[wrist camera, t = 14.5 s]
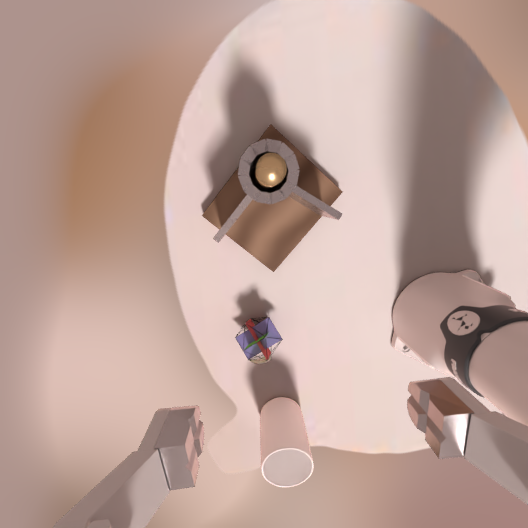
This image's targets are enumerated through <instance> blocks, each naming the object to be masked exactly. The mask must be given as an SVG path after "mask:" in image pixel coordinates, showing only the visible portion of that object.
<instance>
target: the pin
mask: <svg viewBox="0 0 528 528" xmlns="http://www.w3.org/2000/svg"><path fill="white" fill-rule="evenodd" d="M286 171H287V167H286V163H285V161H284V159H283V158H282V157H281V156H280V155H278V154H276V153H266V154H264V155H263V156H261V157H260V159H259V160H258V162H257V165H256V173H255V183H256V185H257V186H258V187H259V188H260V189H262V190H269V189H271V188H272V187H274V186H275V185H277V184H279V183H280V182H281V181H282V180H283V179H284V177H285V175H286Z"/></svg>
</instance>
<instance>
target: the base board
mask: <svg viewBox="0 0 528 528" xmlns="http://www.w3.org/2000/svg"><path fill="white" fill-rule="evenodd" d="M263 139H265V140H266V139H272V140H277V141H281V144H282V143H284V144H285V145H287V146H288V147H289V148H290V149H291V150H292V151H293V152H294V153H293V154H295V156H296V159H297V162H298V165H299V169H298V170H300V171H299V176H298V181H297V185H296V186H298V187H299V188H301V189H303V190H304V191H306V192H308V193H309V194H311V195H312V196H314V197H316V198H317V199H319V200H321V201H322V202H324V203H326V204H327V205H329V206H331V205H332V204H333V202H334V201H335V200H336V199H337V198H338V197H339V195H340V194H341V193H342V191H341V190H340V189H339V188H338V187H337V186H336V185H335V184H334V183H333V182H332V181H331V180H330V179H328V178H327V177H326V176H325V175H324V174H323V173H322V172H321V171H320V170H319V169H318V168H317V167H316V166H315V165H314V164H312V163H311V162H310V161H309V160H308V159H307V158H306V157H305V156H304V155H303V154H302V153H301V152H300V151H299V150H298V149H296V148H295V147H294V146H293V145H292V144H291V143H290V142H289V141H288V140H287V139H286V138H285V137H284V136H283V135H282V134H280V133H279V132H278V131H277V130H276V129H275V128H274V127H273V126H272V125H271V124H270V126H269V127H268V128H267V130H266V131H265V132H264V134H263V135H262V136H261V138H260V139H259V140H258V141H260V140H263ZM238 169H239V167H238V168H237V170H236V171H235V172H234V174H233V175H232V176H231V178H230V179H229V180H228V182H227V183H226V184H225V186H224V187H223V188H222V190H221V191H220V192H219V194H218V195H217V196H216V198H215V199H214V200H213V202H212V203H211V204H210V206H209V207H208V208H207V210H206V211H205V212H204V214H203V215H202V216H203V217H204V218H206V219H207V220H208V221H209V222H211V223H212V224H213V225H214V226H216V227H217V228H218V229H221V227H222V226H223V225H224V224H225V222H226V221H227V220H228V218H229V217H230V216H231V215H232V213H233V212H234V211H235V209H236V208H237V207H238V206H239V204H240V203H241V202H242V200H243V199H244V198H245V197H246V195H247V194H246V193H245V192H244V191H243V188H242V186H241V183H240V180H239V178H238ZM255 173H256V167H255V169H254V170H253V171H252V173H251V181H252V184H253V185H254V186H255V187H256V188H257V189H258V190H260V191H261V192H267V193H272V192H274V191H275V190H276V189H277V187H278V186H279V184H277V185H275V186H274V187H272V188H271V189H269V190H262V189H260V188H259V187H258V186H257V185H256V183H255ZM320 218H321V216H320V215H318V214H317V213H315V212H313V211H312V210H310V209H308V208H307V207H305V206H303V205H302V204H300V203H298V202H297V201H295V200H293V199H292V198H290V197H287V198H285V200H282V201H279V202H277V203H274V204H265V203H260V202H256V201H254V200H252V201H251V203H250V204H249V205H248V206H247V208H246V209H245V210H244V211H243V213H242V214H241V215H240V217H239V218H238V219H237V220H236V222H235V223H234V224H233V225H232V227H231V228H230V229H229V230H228V232H227V233H226V235H227V236H228V237H230V238H231V239H232V240H234V241H235V242H236V243H237V244H239V245H240V246H241V247H242V248H244V249H245V250H246V251H247V252H249V253H250V254H251V255H253V256H254V257H255V258H256V259H258V260H259V261H260V262H261V263H263V264H264V265H265V266H267V267H268V268H269V269H270V270H272V271H273V272H274V271H275V270H276V269H277V267H278V266H279V265H280V264H281V263H282V262H283V260H284V259H285V258H286V257H287V256H288V255H289V254H290V252H291V251H292V250H293V249H294V248H295V247H296V245H297V244H298V243H299V242H300V241H301V240H302V238H303V237H304V236H305V235H306V234H307V233H308V231H309V230H310V229H311V228H312V227H313V226H314V225H315V223H316V222H317V221H318V220H319V219H320Z"/></svg>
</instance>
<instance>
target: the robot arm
mask: <svg viewBox="0 0 528 528" xmlns="http://www.w3.org/2000/svg"><path fill="white" fill-rule="evenodd" d="M515 306H516V305H515V304H514V303H513V302H512V301H511V297H510V296H509V295H507V294H505V293H503V292H501V291H499V290H496V289H494V288H492V287H490V286H487V285H485V284H484V282H483V281H482V279H481V277H480V275H479V274H478V273H477V272H475V271H473V270H464V271H460V272H457V273H444V272H437V273H431V274H427V275H424V276H422V277H420V278H418V279H416V280H415V281H413V282H412V283H410V284H409V285H408V286H407V287H406V288H405V289H404V290H403V291H402V292H401V294H400V295H399V297H398V299H397V301H396V303H395V305H394V309H393V315H392V320H393V326H394V334H393V337H392V342H391V344H392V347H393V348H394V349H396V350H397V351H399V352H401V353H403V354H405V355H407V356H409V357H411V358H413V359H415V360H417V361H419V362H421V363H423V364H425V365H427V366H429V367H431V368H433V369H435V370H437V371H439V372H441V373H443V374H445V375H447V376H449V377H446V378H438V379H430V380H422V381H413V382H410V383H409V386H408V391H409V392H410V394H411V396H410V397H409V399H408V400H407V408H408V412H409V416H410V418H411V420H412V422H413V423H414V425H415V426H416V427H417V429H419V430H421V431H422V432H424V433H425V440H426V442H427V443H428V444H429V446H430V447H431V449H432V450H433V451H434V453H435V454H436V455H437V457H438V458H439V459H444V458H456V457H464V458H465V459H466V460H467V461H469V462H470V463H472V464H473V465H474V466H476V467H477V468H478V469H480V470H481V471H482V472H484V473H485V474H486V475H488V476H489V477H490V478H492V479H493V480H494V481H496V482H497V483H498V484H500V485H501V486H503V487H504V488H505V489H507V490H508V491H509V492H511V493H512V494H513V495H515V496H516V497H517V498H519V499H520V500H522V501H523V502H524V503H526V504H527V505H528V313H527V312H525V311H522V310H518V309H516V308H515ZM404 346H405V347H404ZM451 377H452V378H451ZM453 378H457V379H458V380H459V381H460V382H461V383H462V384H463V385H464V386H466V387H467V388H468V389H470V390H472V391H473V392H474V393H476V394H477V395H479V396H481V397H484V398H486V399H487V400H488V401H489V402H491V403H492V404H493V405H494V406H495V407H496V408H498V409H499V410H500V411H501V412H502V413H504V414H505V415H506V416H507V417H506V416H504V415H502V414H500V413H498V412H496V411H494V412H491V411H489V410H488V409H487V408H486V407H485V406H484V405H483V404H482V403H480V402H479V401H478V400H477V399H476V398H475V397H474V396H473V395H471V394H470V393H469V392H468V391H467V390H466V389H465V388H464V387H463V386H461V385H460V384H459V383H458V382H457V381H456V380H455V379H453ZM200 415H201V412H200V408H199V406H197V405H196V406H184V407H173V408H164V409H158V410H157V411H156V412H155V414H154V417H153V419H152V421H151V423H150V425H149V427H148V429H147V432H146V434H145V436H144V438H143V440H142V442H141V444H140V446H139V449H138V451H136V452H132V453H131V454H130V455H129V456H128V457H127V458H126V459H125V460H124V461H123V462H121V463H120V464H119V465H118V466H117V467H116V468H115V469H114V470H113V471H112V472H111V473H110V474H109V475H107V476H106V477H105V478H104V479H103V480H102V481H101V482H100V483H99V484H98V485H97V486H96V487H94V488H93V489H92V490H91V491H90V492H89V493H88V494H87V495H86V496H85V497H84V498H83V499H82V500H80V501H79V502H78V503H77V504H76V505H75V506H74V507H73V508H72V509H71V510H70V511H68V512H67V513H66V514H65V515H64V516H63V517H62V518H61V519H60V520H59V521H58V522H57V523H56V524H55V525H54V527H53V528H145V527H146V525H147V524H148V522H149V521H150V520H151V518H152V517H153V515H154V514H155V512H156V511H157V509H158V508H159V507H160V505H161V504H162V502H163V501H164V499H165V498H166V497H167V495H168V494H169V490H176V489H182V488H189V487H195V483H196V479H197V474H198V469H199V462H198V457H199V455H200V454H201V453H202V449H203V445H204V427H203V422H201V421H200V420H199V419H200Z"/></svg>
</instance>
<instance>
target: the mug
mask: <svg viewBox="0 0 528 528" xmlns="http://www.w3.org/2000/svg"><path fill="white" fill-rule="evenodd" d="M260 441H261V471H262V474H263V477H264V478H265V479H266V480H267V481H268V482H269V483H271V484H273V485H275V486H279V487H292V486H296V485H299V484H301V483H303V482H304V481H305V480H307V479H308V478H309V476H310V475H311V473H312V471H313V467H314V464H313V459H312V455H311V450H310V446H309V441H308V437H307V432H306V428H305V423H304V419H303V414H302V411H301V408H300V406H299V405H298V404H297V403H296V402H295V401H294V400H292V399H290V398H286V397H278V398H274V399H272V400H270V401H268V402H267V403H266V404H265V405H264V406H263V408H262V410H261V413H260Z"/></svg>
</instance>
